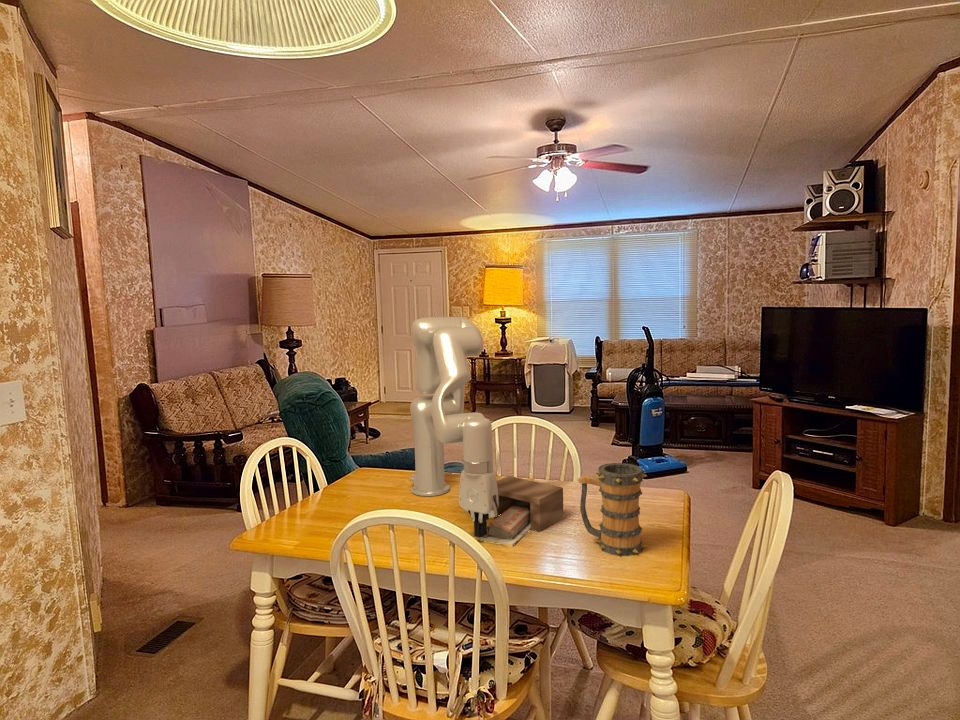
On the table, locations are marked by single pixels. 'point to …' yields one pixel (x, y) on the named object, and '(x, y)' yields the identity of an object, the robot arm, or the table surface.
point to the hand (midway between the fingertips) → (480, 535)
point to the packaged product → (509, 526)
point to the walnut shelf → (532, 500)
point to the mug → (616, 508)
